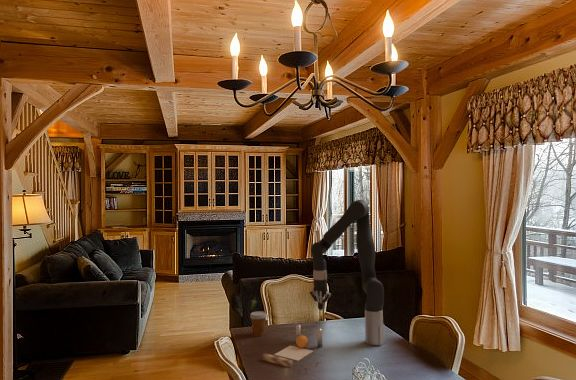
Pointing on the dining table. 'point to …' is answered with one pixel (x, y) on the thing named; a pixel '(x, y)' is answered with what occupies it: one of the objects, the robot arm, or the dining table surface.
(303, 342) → the ball
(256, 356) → the dining table surface
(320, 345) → the near post
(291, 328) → the dining table surface
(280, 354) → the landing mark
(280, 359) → the stopper wall
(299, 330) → the far post
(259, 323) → the disposable coffee cup
